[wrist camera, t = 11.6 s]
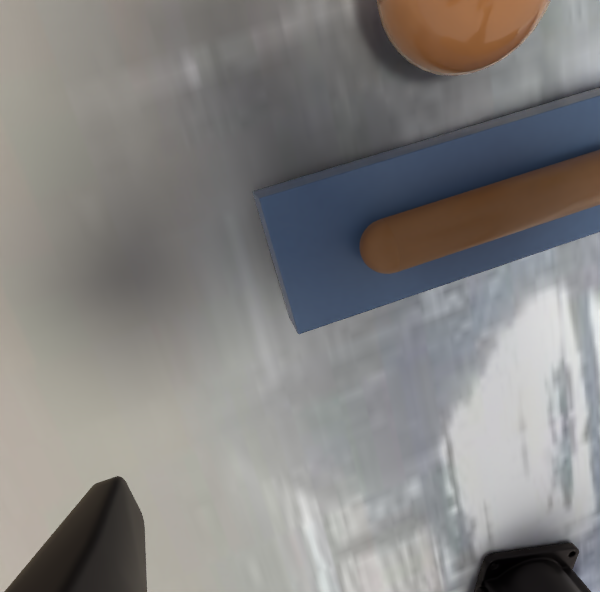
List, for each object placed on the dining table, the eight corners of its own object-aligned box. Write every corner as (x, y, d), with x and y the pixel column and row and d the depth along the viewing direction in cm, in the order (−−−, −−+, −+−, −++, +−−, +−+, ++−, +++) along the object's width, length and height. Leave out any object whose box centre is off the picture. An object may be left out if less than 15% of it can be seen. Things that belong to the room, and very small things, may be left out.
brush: (620, 75, 19) (750, 60, 15) (617, 193, 21) (731, 212, 17) (247, 186, 17) (267, 208, 13) (282, 304, 19) (310, 358, 15)
